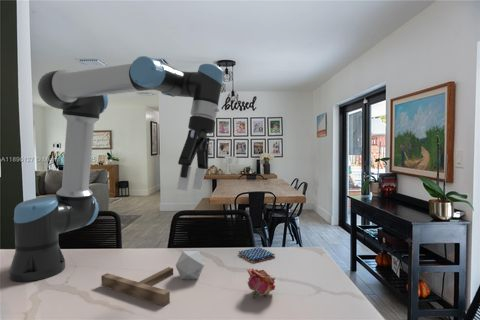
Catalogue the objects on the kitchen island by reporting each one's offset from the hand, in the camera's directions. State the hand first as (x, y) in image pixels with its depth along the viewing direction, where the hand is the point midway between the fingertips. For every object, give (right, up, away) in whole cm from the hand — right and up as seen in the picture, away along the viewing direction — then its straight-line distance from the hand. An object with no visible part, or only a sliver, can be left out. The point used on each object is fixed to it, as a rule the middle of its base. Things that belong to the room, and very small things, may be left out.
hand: (190, 189), depth 89 cm
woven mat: (+20, -27, +24) cm, 42 cm away
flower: (+20, -28, -6) cm, 35 cm away
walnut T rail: (-11, -28, +1) cm, 30 cm away
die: (-1, -28, +6) cm, 28 cm away
